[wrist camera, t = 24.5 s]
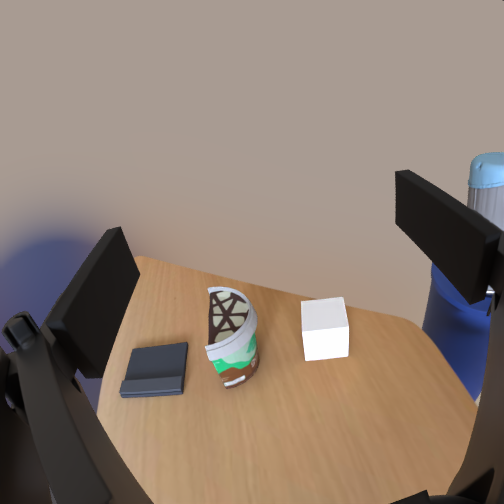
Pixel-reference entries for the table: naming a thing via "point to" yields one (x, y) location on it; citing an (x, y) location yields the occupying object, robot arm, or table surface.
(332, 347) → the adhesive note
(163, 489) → the table surface
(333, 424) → the table surface
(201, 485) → the table surface
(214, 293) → the food container
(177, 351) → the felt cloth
